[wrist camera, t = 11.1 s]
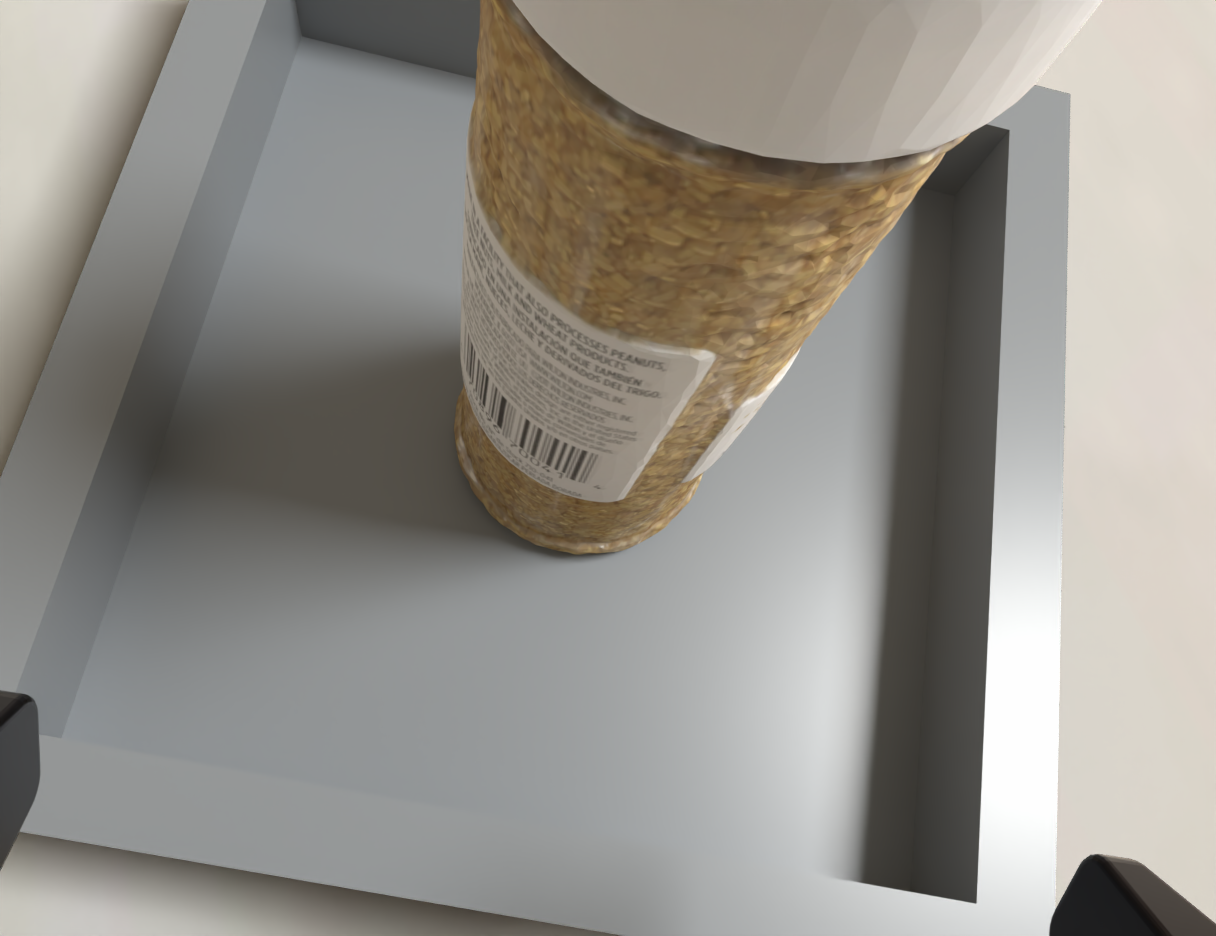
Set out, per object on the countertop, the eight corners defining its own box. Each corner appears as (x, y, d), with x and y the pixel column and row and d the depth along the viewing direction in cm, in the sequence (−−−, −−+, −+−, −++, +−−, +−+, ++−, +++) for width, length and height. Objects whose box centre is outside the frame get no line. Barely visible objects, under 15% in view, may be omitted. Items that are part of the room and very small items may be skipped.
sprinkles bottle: (745, 493, 18) (1411, -175, 6) (520, 605, 17) (742, 62, 5) (627, 285, 19) (979, -681, 7) (405, 376, 18) (323, -602, 5)
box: (-28, 806, 16) (-130, 806, 13) (264, 4, 21) (236, -120, 18) (953, 977, 17) (1053, 1009, 14) (991, 183, 23) (1070, 94, 20)
